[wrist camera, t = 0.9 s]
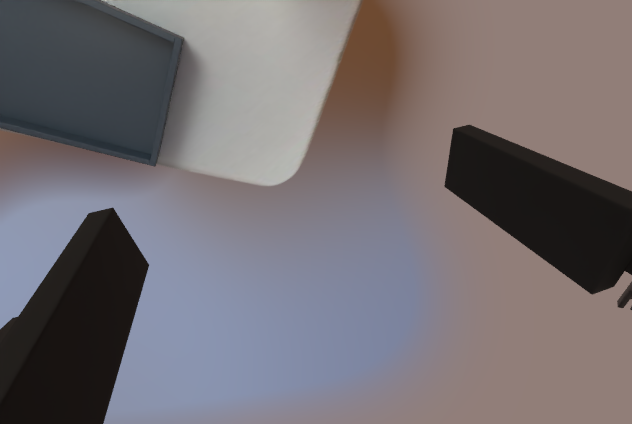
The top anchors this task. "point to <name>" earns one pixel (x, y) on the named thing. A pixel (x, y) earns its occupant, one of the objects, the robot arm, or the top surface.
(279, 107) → the top surface
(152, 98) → the tray
